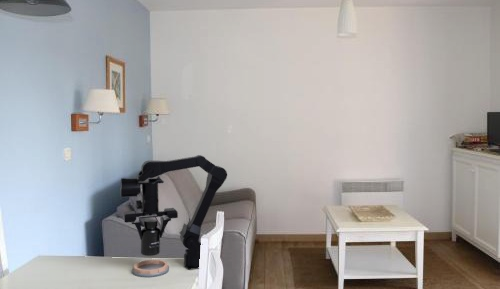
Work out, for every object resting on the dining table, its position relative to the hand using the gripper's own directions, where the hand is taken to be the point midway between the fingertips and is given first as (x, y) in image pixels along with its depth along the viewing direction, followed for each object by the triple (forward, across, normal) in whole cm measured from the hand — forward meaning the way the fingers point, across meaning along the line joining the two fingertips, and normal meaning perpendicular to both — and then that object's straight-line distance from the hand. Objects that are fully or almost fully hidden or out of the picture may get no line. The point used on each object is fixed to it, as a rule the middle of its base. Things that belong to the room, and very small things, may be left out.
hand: (150, 238), depth 156 cm
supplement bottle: (+6, 0, 0) cm, 6 cm away
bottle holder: (+12, 0, 0) cm, 12 cm away
